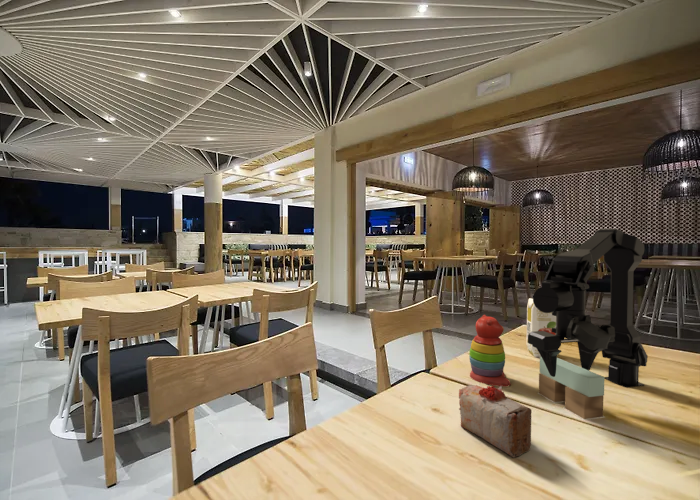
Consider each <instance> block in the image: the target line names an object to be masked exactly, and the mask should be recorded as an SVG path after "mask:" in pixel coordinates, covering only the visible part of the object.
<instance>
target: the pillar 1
mask: <svg viewBox="0 0 700 500" xmlns="http://www.w3.org/2000/svg"><path fill="white" fill-rule="evenodd" d="M565 387H566V386H565V385H563V384H561V383H559V382H557V381H555V380H553V379H551V378H549V377H547V376H545V375H543V374H541V373H540V372H539V373H538V393H539V394H538V395H540V394H541V395H543V396H545V397H546V398H545V397H544V398H545V399H547V398H548V399H550V400H552V401H553V402H559V403H561V402H560V401H565ZM541 395H540V396H541ZM543 396H542V397H543ZM548 399H547V400H548ZM550 400H549V401H550ZM552 401H551V402H552ZM553 402H552V403H553Z"/></svg>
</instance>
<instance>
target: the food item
mask: <svg viewBox="0 0 700 500" xmlns="http://www.w3.org/2000/svg"><path fill="white" fill-rule="evenodd" d="M502 388H503V386H498V387H495V386H494V385H488V386H486V387H482V386H480V385H477V384H476V385H475V384H469V385H466V386H463V387H462V388H460V389H459V390H458V399H459V408H458V410H459V414H460V427H462V428H463V429H465V430H467V431H469V432H471V433H473V434H475V435H476V436H478V437H480V438H482V439H483V440H485V442H488V443H489V444H491V445H492V446H494V447H496V448H497V449H499V450H501V451H502V452H504V453H505V454H507V455H509V456H510V457H512V458H516V457H520V456H521V455H522V454H524V453H527V452H528V451H530V450H531V448H532V409H531V408H530V407H528V406H526V405H523V404H521V403H520V402H517V401H516V400H513V399H511V398H509V397H506V394H505V393H504V391H503V389H502Z"/></svg>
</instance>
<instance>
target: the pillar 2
mask: <svg viewBox="0 0 700 500" xmlns="http://www.w3.org/2000/svg"><path fill="white" fill-rule="evenodd" d="M604 396H605V394H604V395H603V396H594V397H588V396H586V395H584V394H582V393H580V392H578V391H576V390H574V389H572V388H570V387H567V386H566V387H565V402H564V407H565V408H566V409H567V410H569V411H571V412H573V413H574V414H576V415H578V416H580V417H581V418H583V419H589V418H596V417H603V416H604ZM566 409H565V410H566ZM567 410H566V411H567ZM569 411H568V412H569ZM571 412H570V413H571ZM573 413H572V414H573ZM574 414H573V415H574ZM576 415H575V416H576ZM578 416H577V417H578ZM580 417H579V418H580ZM581 418H580V419H581ZM583 419H582V420H583ZM589 420H590V419H589Z"/></svg>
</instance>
